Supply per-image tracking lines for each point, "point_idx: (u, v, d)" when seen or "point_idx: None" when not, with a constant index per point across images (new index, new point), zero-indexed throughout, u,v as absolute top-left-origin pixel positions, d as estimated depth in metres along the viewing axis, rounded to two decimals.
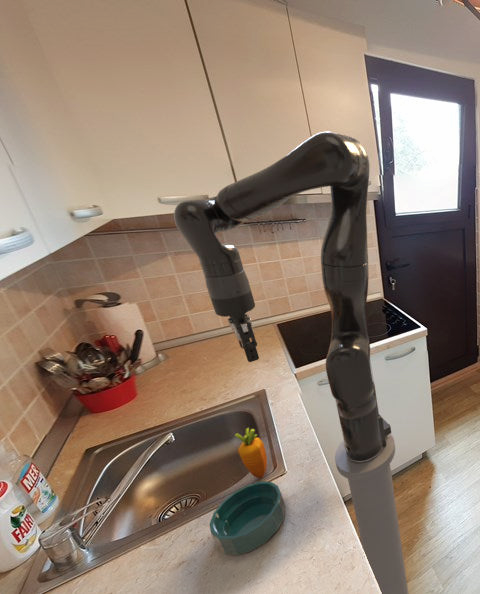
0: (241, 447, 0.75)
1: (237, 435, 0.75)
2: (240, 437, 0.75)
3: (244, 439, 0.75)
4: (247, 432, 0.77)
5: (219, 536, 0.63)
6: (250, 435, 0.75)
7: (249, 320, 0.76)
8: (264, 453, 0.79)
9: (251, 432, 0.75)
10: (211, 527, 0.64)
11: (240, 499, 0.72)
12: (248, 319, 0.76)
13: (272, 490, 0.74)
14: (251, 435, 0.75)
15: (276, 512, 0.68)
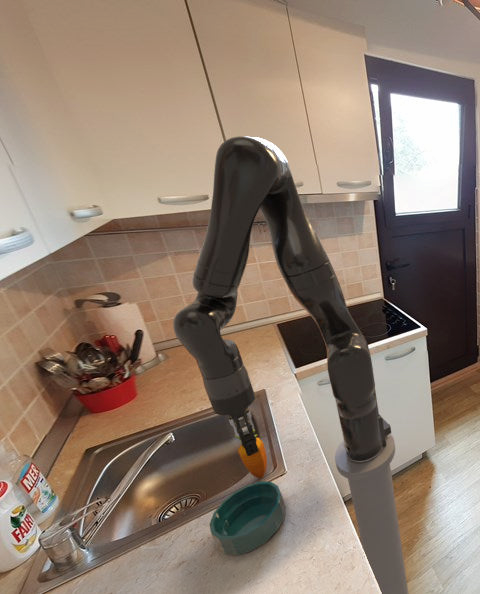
0: (241, 447, 0.75)
1: None
2: None
3: None
4: None
5: (219, 536, 0.63)
6: None
7: (249, 414, 0.73)
8: (264, 453, 0.79)
9: None
10: (211, 527, 0.64)
11: (240, 499, 0.72)
12: (248, 413, 0.73)
13: (272, 490, 0.74)
14: None
15: (276, 512, 0.68)
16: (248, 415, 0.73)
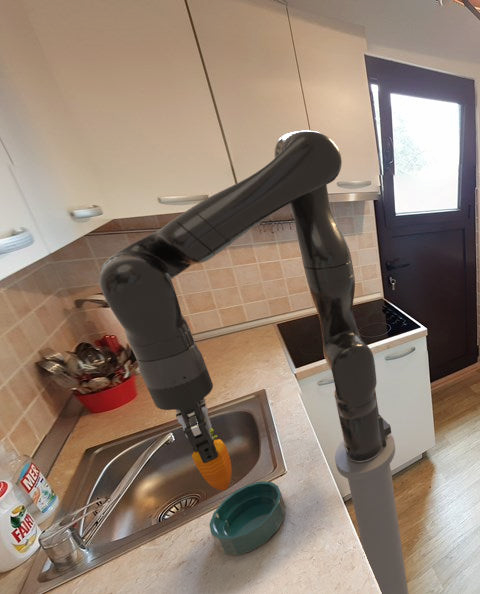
0: (196, 452, 0.59)
1: None
2: None
3: None
4: None
5: (219, 536, 0.63)
6: None
7: (204, 409, 0.56)
8: (227, 459, 0.62)
9: None
10: (211, 527, 0.64)
11: (240, 499, 0.72)
12: (203, 407, 0.56)
13: (272, 490, 0.74)
14: None
15: (276, 512, 0.68)
16: (203, 410, 0.56)
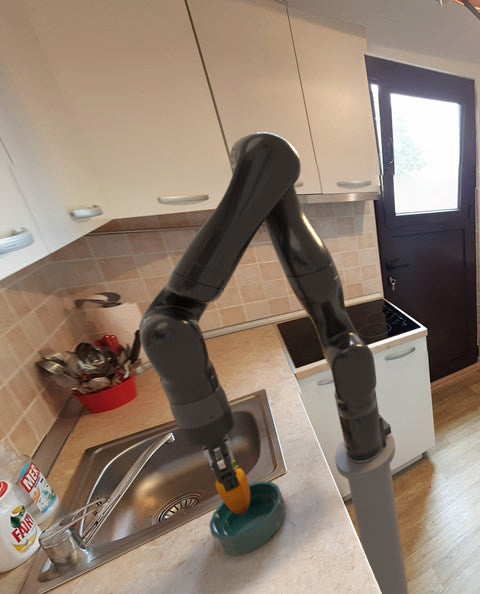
0: None
1: None
2: None
3: None
4: None
5: (219, 536, 0.63)
6: None
7: (228, 443, 0.62)
8: (247, 486, 0.67)
9: None
10: (211, 527, 0.64)
11: None
12: (226, 441, 0.61)
13: (272, 490, 0.74)
14: None
15: (276, 512, 0.68)
16: (226, 444, 0.61)
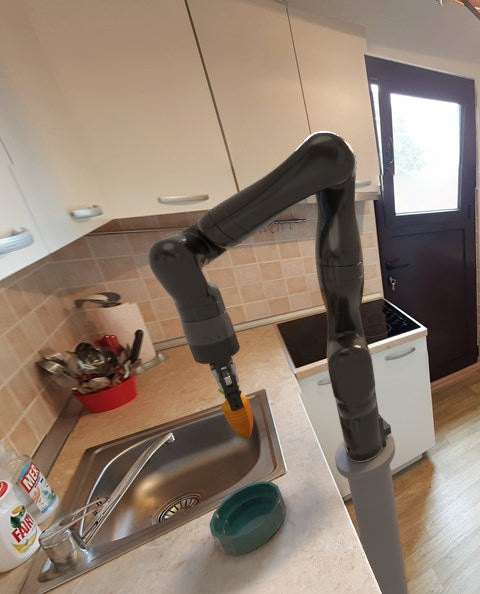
0: (225, 403, 0.71)
1: (220, 390, 0.70)
2: (223, 392, 0.70)
3: None
4: None
5: (219, 536, 0.63)
6: None
7: (233, 366, 0.68)
8: (250, 411, 0.74)
9: None
10: (211, 527, 0.64)
11: (240, 499, 0.72)
12: (232, 364, 0.68)
13: (272, 490, 0.74)
14: None
15: (276, 512, 0.68)
16: (232, 367, 0.68)
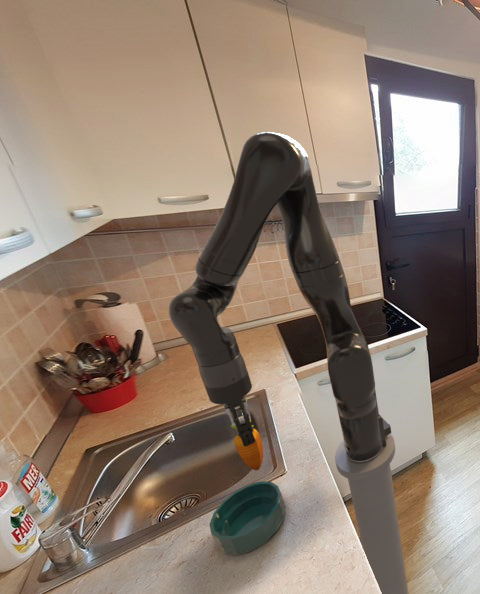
0: (237, 438, 0.74)
1: (233, 426, 0.74)
2: (236, 428, 0.74)
3: None
4: None
5: (219, 536, 0.63)
6: None
7: (246, 404, 0.72)
8: (260, 444, 0.77)
9: None
10: (211, 527, 0.64)
11: (240, 499, 0.72)
12: (244, 402, 0.72)
13: (272, 490, 0.74)
14: None
15: (276, 512, 0.68)
16: (245, 405, 0.72)
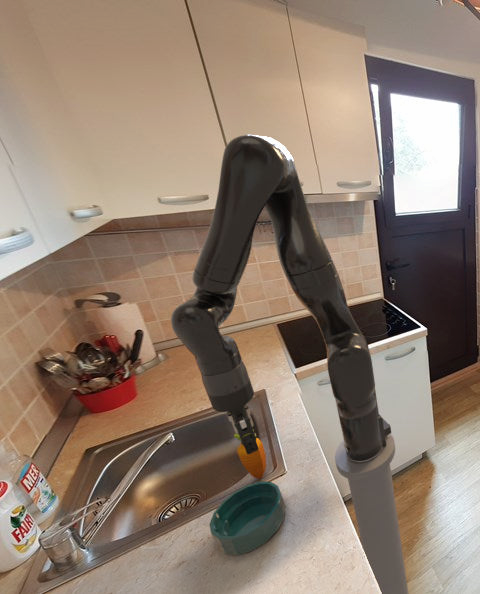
0: (240, 447, 0.75)
1: (236, 435, 0.75)
2: (239, 437, 0.75)
3: None
4: None
5: (219, 536, 0.63)
6: None
7: (248, 410, 0.73)
8: (263, 453, 0.78)
9: None
10: (211, 527, 0.64)
11: (240, 499, 0.72)
12: (247, 409, 0.72)
13: (272, 490, 0.74)
14: None
15: (276, 512, 0.68)
16: (247, 412, 0.72)
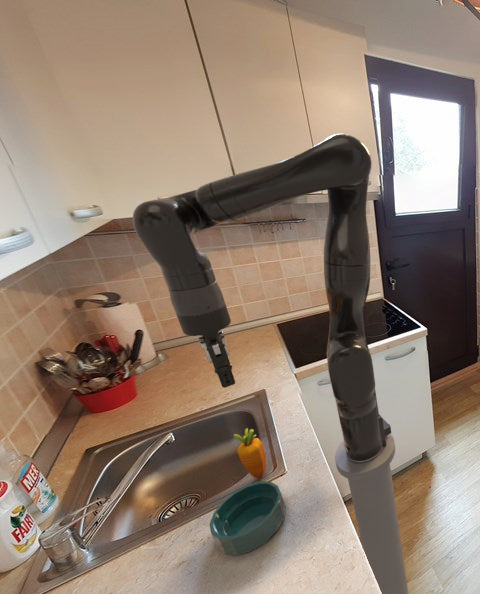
0: (240, 447, 0.75)
1: (236, 435, 0.75)
2: (239, 437, 0.75)
3: (243, 439, 0.74)
4: (247, 432, 0.77)
5: (219, 536, 0.63)
6: (249, 435, 0.75)
7: (223, 339, 0.66)
8: (263, 453, 0.78)
9: (250, 432, 0.75)
10: (211, 527, 0.64)
11: (240, 499, 0.72)
12: (222, 338, 0.66)
13: (272, 490, 0.74)
14: (250, 435, 0.75)
15: (276, 512, 0.68)
16: (223, 340, 0.66)
